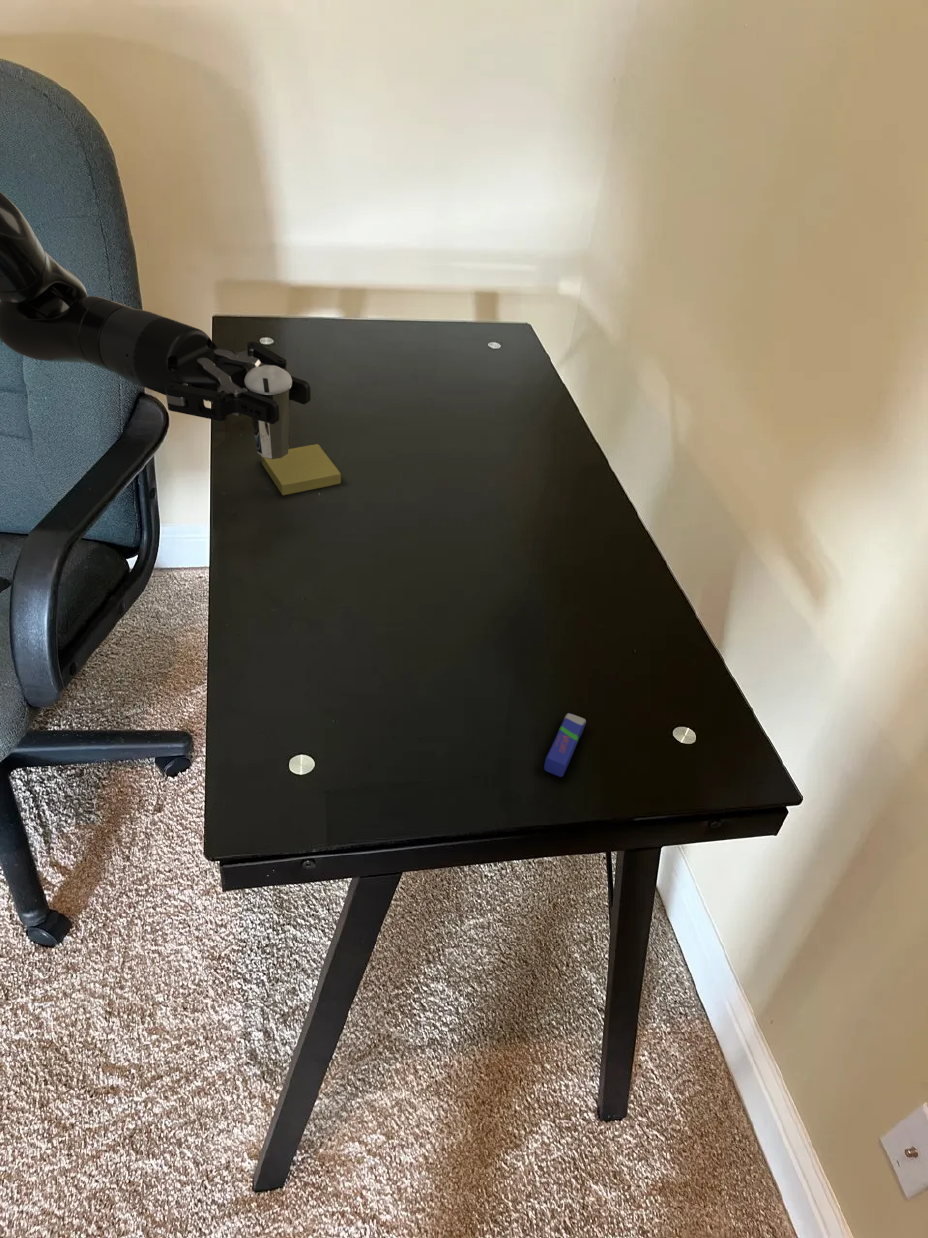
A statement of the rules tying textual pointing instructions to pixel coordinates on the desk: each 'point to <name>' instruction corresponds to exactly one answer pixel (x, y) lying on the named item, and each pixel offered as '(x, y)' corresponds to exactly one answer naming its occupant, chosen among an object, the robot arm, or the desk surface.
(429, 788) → the desk surface
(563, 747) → the eraser
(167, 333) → the robot arm
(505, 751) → the desk surface
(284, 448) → the milkshake
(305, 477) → the note pad
